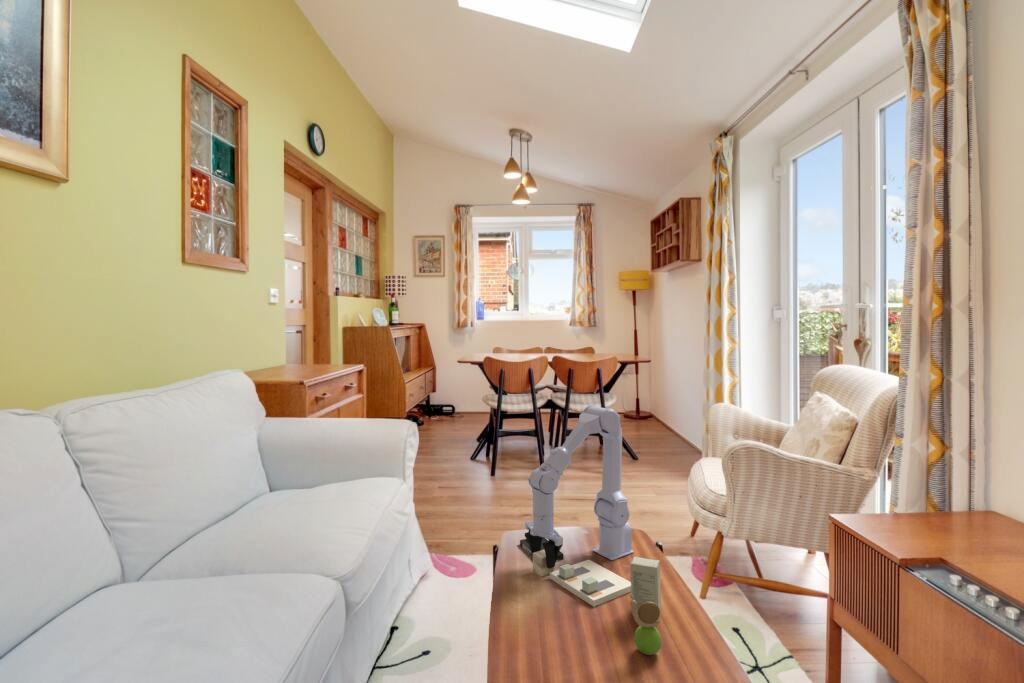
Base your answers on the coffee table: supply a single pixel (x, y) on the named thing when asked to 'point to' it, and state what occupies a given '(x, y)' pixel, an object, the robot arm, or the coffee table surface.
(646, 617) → the snail figurine
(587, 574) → the white base plate
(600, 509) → the robot arm
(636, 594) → the skincare box
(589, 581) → the tab
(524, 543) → the vhs tape
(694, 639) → the coffee table surface
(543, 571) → the block
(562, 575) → the tab
